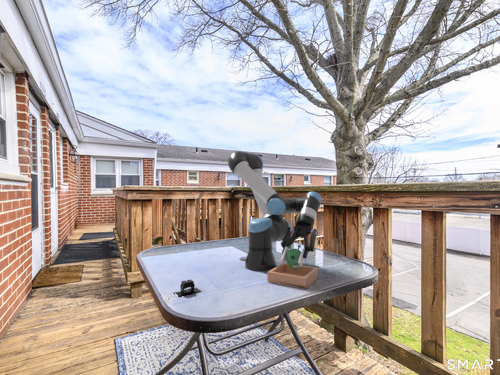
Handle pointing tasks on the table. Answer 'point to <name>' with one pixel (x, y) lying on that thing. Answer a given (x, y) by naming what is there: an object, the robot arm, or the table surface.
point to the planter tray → (293, 276)
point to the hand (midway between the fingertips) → (291, 262)
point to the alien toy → (293, 258)
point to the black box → (188, 291)
